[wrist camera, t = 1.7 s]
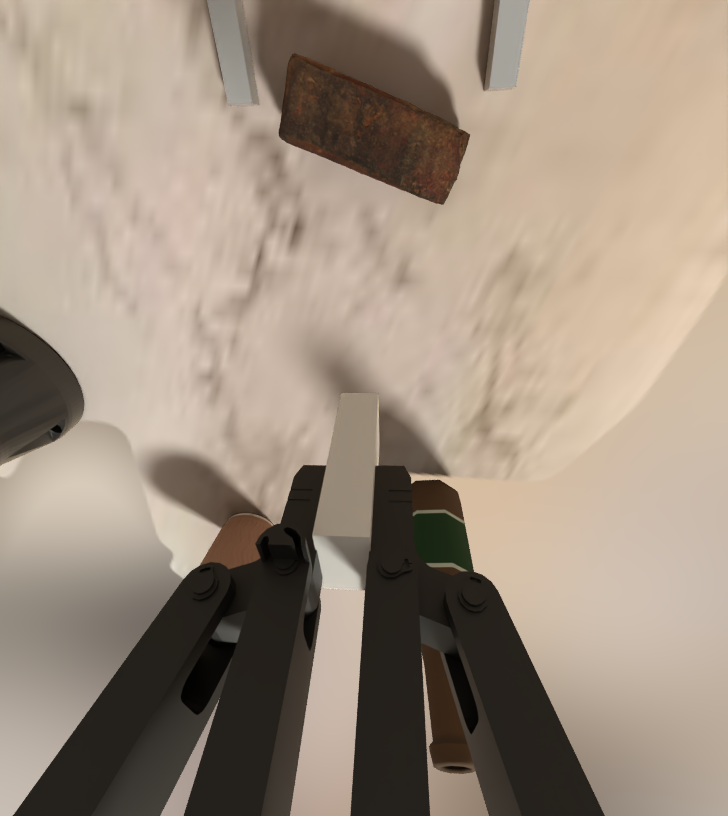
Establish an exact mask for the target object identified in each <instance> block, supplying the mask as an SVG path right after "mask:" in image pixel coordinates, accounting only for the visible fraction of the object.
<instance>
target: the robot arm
mask: <svg viewBox="0 0 728 816" xmlns="http://www.w3.org/2000/svg"><path fill="white" fill-rule="evenodd" d="M83 411H84V398H83V394H82V391H81V388H80V386H79V384H78V382H77V380H76V378H75V376H74V375H73V373H72V372H71V370H70V369H69V368H68V366H67V365H66V364H65V363H64V361H63V360H62V359H61V358H60V357H59V356H58V355H57V354H56V353H55V352H54V351H53V350H52V349H51V348H50V347H49V346H47V345H46V344H45V343H44V342H43V341H41V340H40V339H39V338H37V337H36V336H35V335H33V334H32V333H30V332H29V331H27V330H26V329H24V328H22V327H21V326H19V325H17V324H15V323H14V322H12V321H10V320H8V319H6V318H3V317H1V316H0V465H2V464H4V463H6V462H9V461H11V460H13V459H16V458H18V457H20V456H22V455H25V454H27V453H29V452H31V451H34V450H36V449H38V448H40V447H43V446H45V445H47V444H50V443H52V442H54V441H56V440H58V439H59V438H61V437H62V436H63V435H65V434H66V433H67V432H68V431H69V430H70V429H71V428H73V427H74V426H75V425H76V424H77V423H78V422H79V420H80V419H81V417H82V415H83ZM255 545H256V547H257V550H258V553H259V555H260V559H258V560H256V561H254V562H251V563H249V564H245V565H241V566H238V567H234V568H231V569H228V568H227V567H226V566H224V565H223V564H221V563H216V562H210V563H206V564H202V565H200V566H198V567H197V568H195V569H194V570H192V571H191V572H190V573H189V574H188V575H187V576H186V577H185V578H184V579H183V581H182V582H181V584H180V585H179V586H178V588H177V589H176V590H175V592H174V593H173V595H172V596H171V597H170V599H169V600H168V601H167V603H166V604H165V606H164V607H163V608H162V610H161V611H160V613H159V614H158V616H157V617H156V618H155V620H154V621H153V622H152V624H151V625H150V627H149V628H148V629H147V631H146V632H145V633H144V635H143V636H142V638H141V639H140V640H139V642H138V643H137V645H136V646H135V647H134V649H133V650H132V651H131V653H130V654H129V656H128V657H127V658H126V660H125V661H124V663H123V664H122V665H121V667H120V668H119V669H118V671H117V672H116V674H115V675H114V677H113V678H112V679H111V681H110V682H109V683H108V685H107V686H106V688H105V689H104V690H103V692H102V693H101V694H100V696H99V697H98V699H97V700H96V702H95V703H94V704H93V706H92V707H91V708H90V710H89V711H88V712H87V714H86V715H85V717H84V718H83V719H82V721H81V722H80V724H79V725H78V726H77V728H76V729H75V731H74V732H73V733H72V735H71V736H70V738H69V739H68V740H67V742H66V743H65V744H64V746H63V747H62V749H61V750H60V751H59V753H58V754H57V755H56V757H55V758H54V760H53V761H52V762H51V764H50V765H49V766H48V768H47V769H46V771H45V772H44V773H43V775H42V776H41V778H40V779H39V780H38V782H37V783H36V785H35V786H34V787H33V789H32V790H31V791H30V793H29V794H28V796H27V797H26V798H25V800H24V801H23V803H22V804H21V805H20V807H19V808H18V810H17V811H16V812H15V814H14V815H13V816H160V815H161V813H162V811H163V809H164V807H165V805H166V803H167V801H168V799H169V797H170V795H171V793H172V791H173V789H174V787H175V785H176V783H177V781H178V779H179V777H180V775H181V773H182V771H183V769H184V767H185V765H186V763H187V761H188V759H189V757H190V755H191V754H192V751H193V750H194V748H195V746H196V744H197V741H198V740H199V738H200V736H201V734H202V731H203V730H204V728H205V726H206V724H207V722H208V720H209V718H210V716H211V714H212V712H213V710H214V708H215V706H216V704H217V702H218V700H219V703H218V706H217V709H216V712H215V716H214V719H213V722H212V725H211V729H210V732H209V735H208V738H207V742H206V745H205V748H204V751H203V755H202V758H201V761H200V764H199V768H198V771H197V774H196V777H195V781H194V784H193V787H192V791H191V794H190V797H189V800H188V803H187V807H186V810H185V813H184V816H290V811H291V805H292V798H293V791H294V785H295V778H296V771H297V765H298V758H299V752H300V745H301V738H302V732H303V725H304V718H305V711H306V705H307V699H308V692H309V685H310V679H311V672H312V666H313V659H314V652H315V646H316V639H317V632H318V625H319V619H320V612H321V601H320V591H321V585H322V583H323V588H325V589H346V590H347V589H348V590H365V601H364V617H363V632H362V648H361V663H360V678H359V693H358V709H357V724H356V725H357V726H356V739H355V755H354V770H353V785H352V801H351V816H430V806H429V789H428V788H429V787H428V770H427V752H426V751H427V749H426V731H425V711H424V692H423V673H422V654H421V643H423V644H425V645H427V646H429V647H432V648H434V649H436V650H438V651H440V655H441V658H442V661H443V665H444V668H445V671H446V675H447V678H448V681H449V685H450V688H451V691H452V694H453V698H454V701H455V704H456V708H457V711H458V714H459V718H460V721H461V724H462V728H463V731H464V734H465V737H466V741H467V744H468V747H469V751H470V754H471V757H472V761H473V764H474V767H475V771H476V774H477V777H478V780H479V784H480V787H481V790H482V793H483V797H484V800H485V804H486V807H487V810H488V814H489V816H605V815H604V813H603V811H602V809H601V807H600V805H599V803H598V801H597V799H596V797H595V794H594V792H593V790H592V788H591V786H590V784H589V782H588V780H587V778H586V775H585V773H584V771H583V769H582V767H581V765H580V763H579V761H578V758H577V756H576V754H575V752H574V750H573V748H572V746H571V744H570V742H569V740H568V737H567V735H566V733H565V731H564V729H563V727H562V725H561V723H560V721H559V718H558V716H557V714H556V712H555V710H554V708H553V706H552V704H551V702H550V699H549V697H548V695H547V693H546V691H545V689H544V687H543V685H542V683H541V681H540V678H539V676H538V674H537V672H536V670H535V668H534V666H533V664H532V662H531V659H530V658H529V655H528V653H527V651H526V649H525V647H524V645H523V643H522V640H521V638H520V636H519V634H518V632H517V630H516V628H515V626H514V624H513V621H512V619H511V617H510V616H509V613H508V611H507V609H506V607H505V605H504V603H503V601H502V599H501V596H500V594H499V592H498V590H497V589H496V588H495V586H494V585H493V583H492V582H491V581H490V580H488V579H487V578H486V577H485V576H483V575H481V574H478V573H476V572H473V571H462V572H459V573H457V574H455V575H453V576H452V575H450V574H447V573H444V572H441V571H439V570H436V569H434V568H432V567H430V566H429V565H427V564H426V563H425V562H424V561H423V560H422V559H421V558H420V557H419V555H418V553H417V551H416V549H415V544H414V528H413V508H412V489H411V477H410V475H409V473H408V472H407V470H406V468H405V467H404V466H379V401H378V393H341V397H340V402H339V407H338V412H337V416H336V421H335V426H334V431H333V436H332V441H331V446H330V451H329V456H328V460H327V465H326V466H319V465H303V466H302V468H301V469H300V470H299V471H298V472H297V474H296V475H295V476H294V479H293V483H292V486H291V491H290V493H289V496H288V502H287V503H286V507H285V510H284V513H283V517H282V520H281V524H276V525H274V526H272V527H270V528H268V529H266V530H265V531H264V532H263V533H262V534H261V535H260V536H259V538H258V540H257V542H256V543H255ZM219 698H220V699H219Z"/></svg>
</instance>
